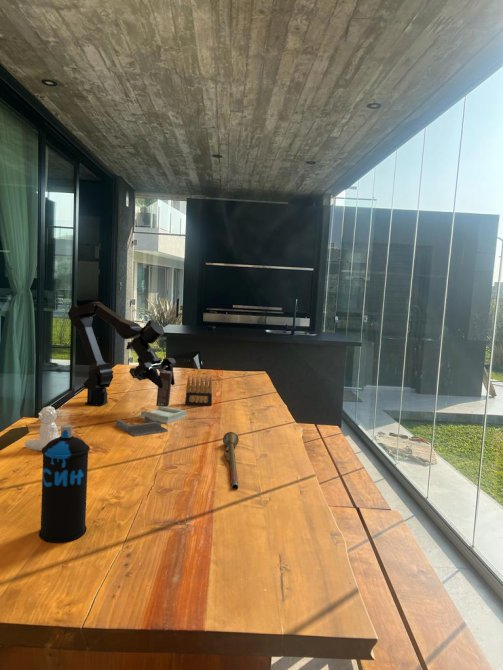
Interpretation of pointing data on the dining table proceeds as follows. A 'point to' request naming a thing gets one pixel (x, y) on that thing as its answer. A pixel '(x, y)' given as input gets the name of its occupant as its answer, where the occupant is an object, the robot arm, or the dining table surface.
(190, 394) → the ammunition clip
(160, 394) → the box
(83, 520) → the aerosol can
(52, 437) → the sitting furry creature
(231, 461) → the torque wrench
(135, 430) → the socket bracket
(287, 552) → the dining table surface
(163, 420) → the tray
